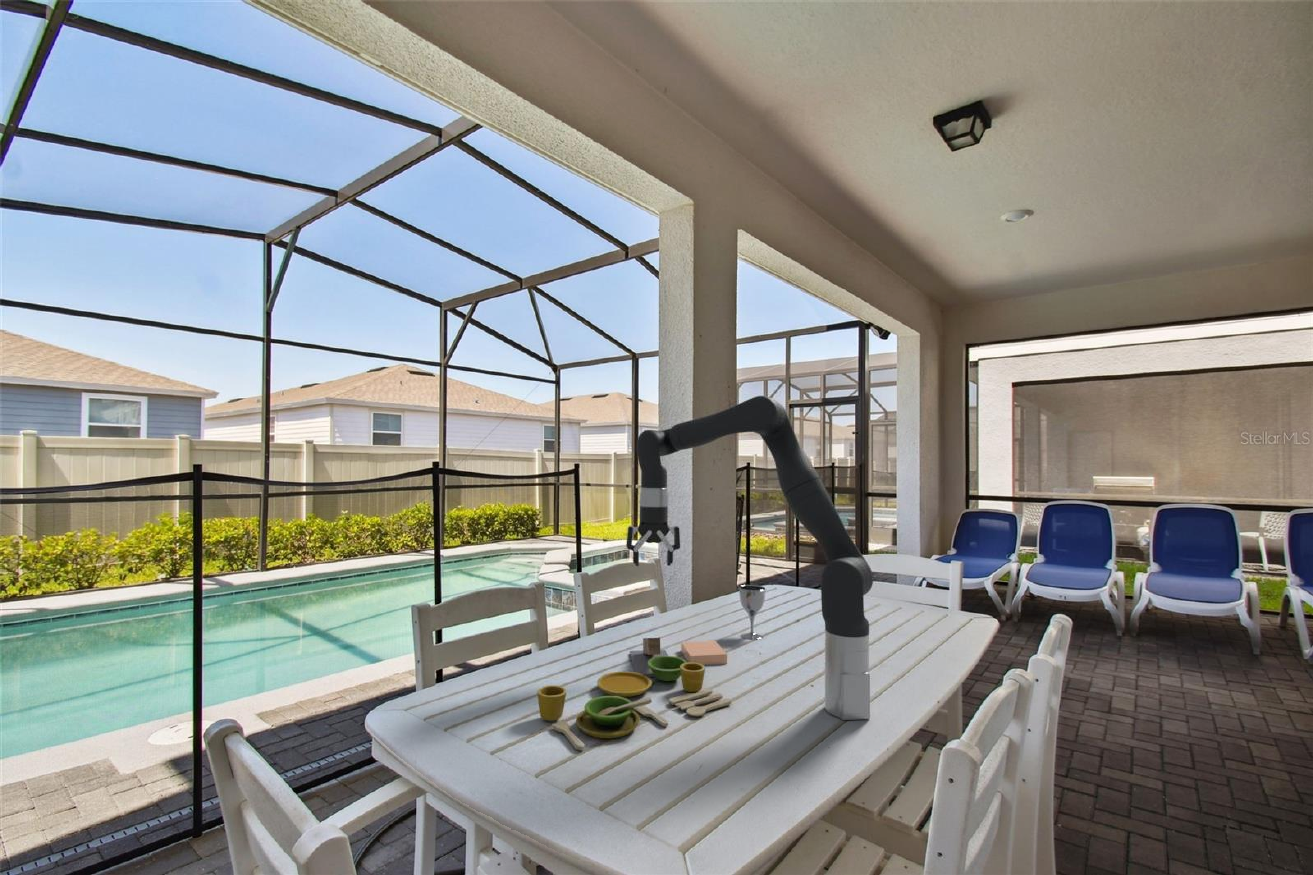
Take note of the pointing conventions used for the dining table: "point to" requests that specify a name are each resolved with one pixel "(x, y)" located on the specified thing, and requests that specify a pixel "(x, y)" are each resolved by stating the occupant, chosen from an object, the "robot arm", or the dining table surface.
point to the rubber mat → (644, 662)
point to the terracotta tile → (704, 652)
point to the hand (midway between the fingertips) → (652, 565)
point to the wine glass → (752, 606)
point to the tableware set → (617, 712)
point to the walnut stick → (651, 646)
